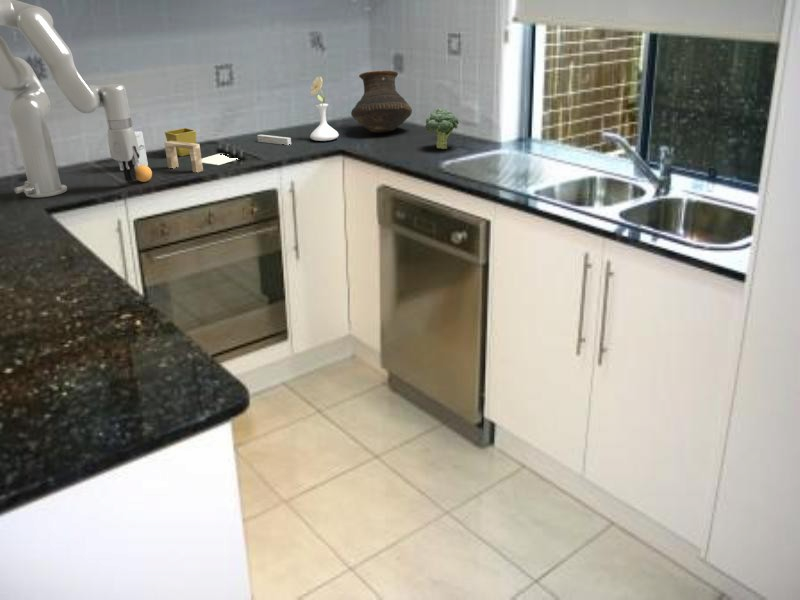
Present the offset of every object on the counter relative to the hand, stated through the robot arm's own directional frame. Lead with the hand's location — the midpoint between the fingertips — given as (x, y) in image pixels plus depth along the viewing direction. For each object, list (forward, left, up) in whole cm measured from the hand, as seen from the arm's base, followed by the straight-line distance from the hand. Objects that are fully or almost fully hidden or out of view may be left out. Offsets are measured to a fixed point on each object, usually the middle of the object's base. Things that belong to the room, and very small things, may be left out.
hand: (131, 180), depth 257 cm
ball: (+5, 0, +1) cm, 6 cm away
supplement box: (+16, +19, -2) cm, 26 cm away
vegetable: (+87, -67, -2) cm, 110 cm away
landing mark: (+39, 0, -2) cm, 40 cm away
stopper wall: (+69, 0, -2) cm, 69 cm away
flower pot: (+39, +19, -2) cm, 44 cm away
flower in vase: (+81, -16, -2) cm, 83 cm away
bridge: (+23, 0, -2) cm, 24 cm away
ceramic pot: (+101, -30, -2) cm, 106 cm away
